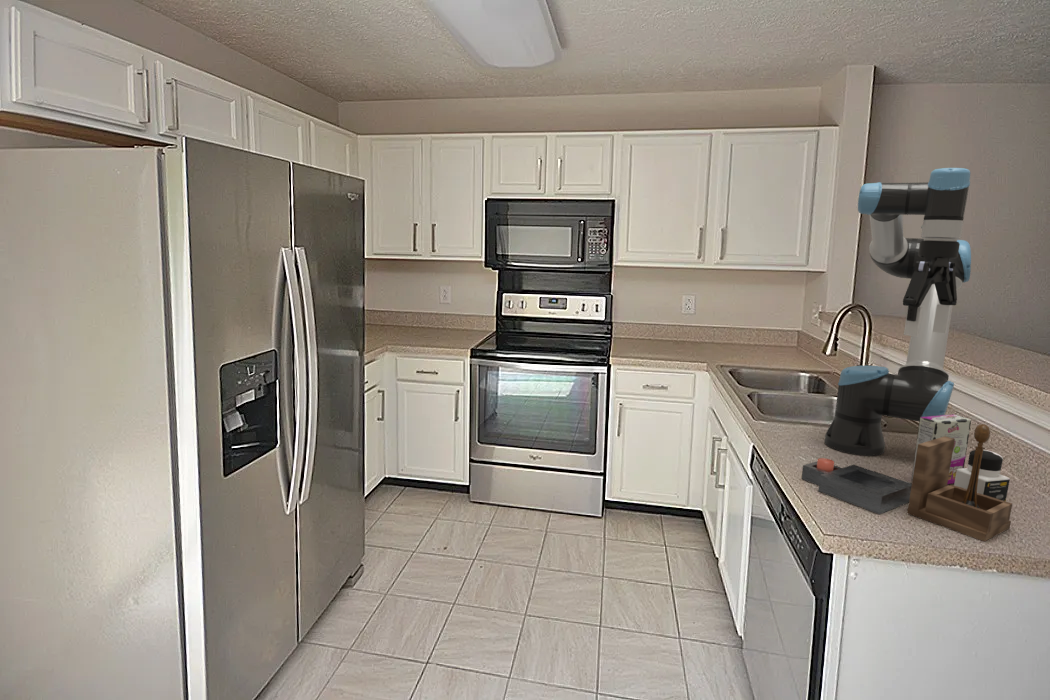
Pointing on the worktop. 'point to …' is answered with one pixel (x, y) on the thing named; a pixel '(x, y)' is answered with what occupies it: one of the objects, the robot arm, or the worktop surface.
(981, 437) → the wooden tabletop sculpture
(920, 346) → the robot arm
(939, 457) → the walnut rack
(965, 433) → the candy bar box
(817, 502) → the worktop surface
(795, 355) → the worktop surface
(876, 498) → the socket block
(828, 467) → the release plunger
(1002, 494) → the medicine bottle
